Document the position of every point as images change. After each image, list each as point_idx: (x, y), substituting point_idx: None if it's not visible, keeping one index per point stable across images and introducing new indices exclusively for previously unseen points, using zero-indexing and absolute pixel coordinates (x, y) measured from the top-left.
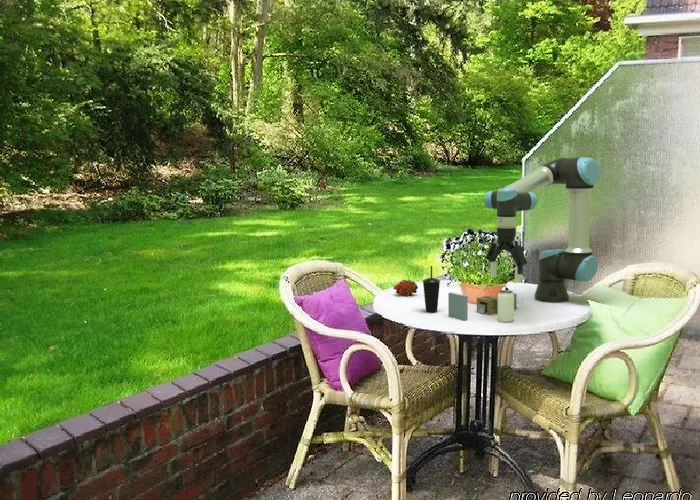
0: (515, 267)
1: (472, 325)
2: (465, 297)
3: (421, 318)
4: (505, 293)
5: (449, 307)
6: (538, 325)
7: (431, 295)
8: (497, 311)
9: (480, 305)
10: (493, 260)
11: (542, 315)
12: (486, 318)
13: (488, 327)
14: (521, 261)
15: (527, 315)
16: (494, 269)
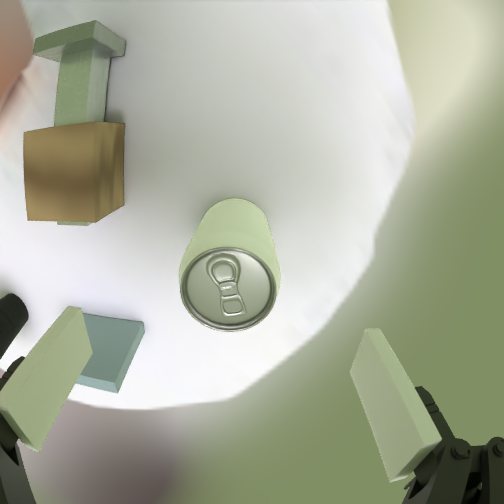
0: (389, 470)
1: (208, 357)
2: (118, 387)
3: None
4: (254, 321)
5: None
6: (374, 199)
7: (2, 354)
8: (119, 160)
9: (70, 223)
10: (1, 430)
11: (279, 39)
12: (158, 256)
13: (262, 344)
14: (469, 496)
15: (233, 82)
16: (55, 374)
